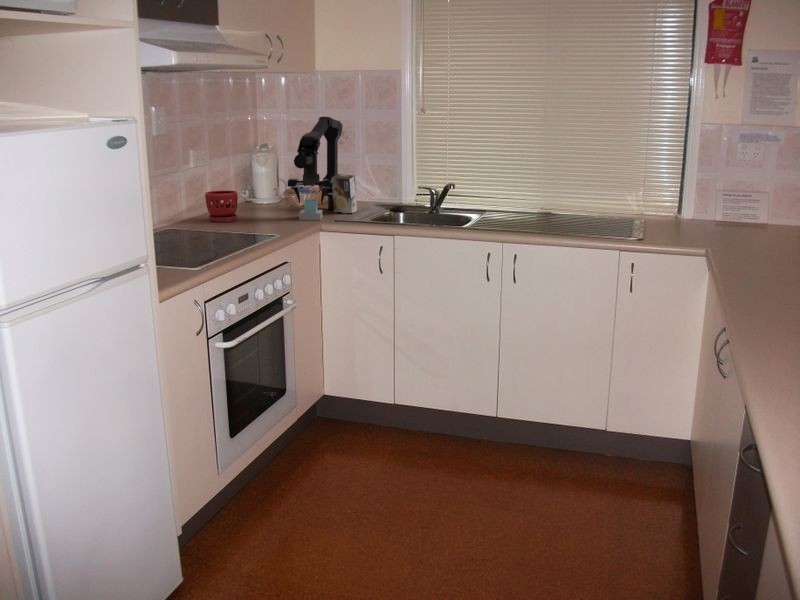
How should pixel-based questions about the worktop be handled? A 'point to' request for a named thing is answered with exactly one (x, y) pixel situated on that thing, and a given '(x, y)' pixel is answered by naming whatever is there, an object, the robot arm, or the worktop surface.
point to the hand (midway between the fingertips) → (310, 203)
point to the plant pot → (222, 205)
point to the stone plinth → (310, 215)
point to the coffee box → (344, 193)
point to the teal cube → (310, 205)
